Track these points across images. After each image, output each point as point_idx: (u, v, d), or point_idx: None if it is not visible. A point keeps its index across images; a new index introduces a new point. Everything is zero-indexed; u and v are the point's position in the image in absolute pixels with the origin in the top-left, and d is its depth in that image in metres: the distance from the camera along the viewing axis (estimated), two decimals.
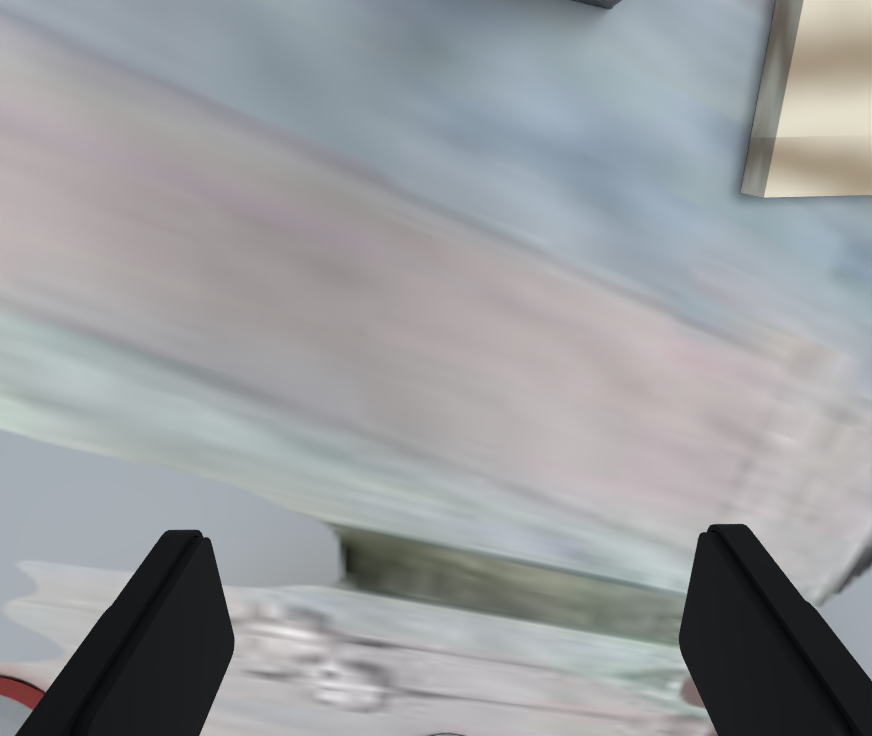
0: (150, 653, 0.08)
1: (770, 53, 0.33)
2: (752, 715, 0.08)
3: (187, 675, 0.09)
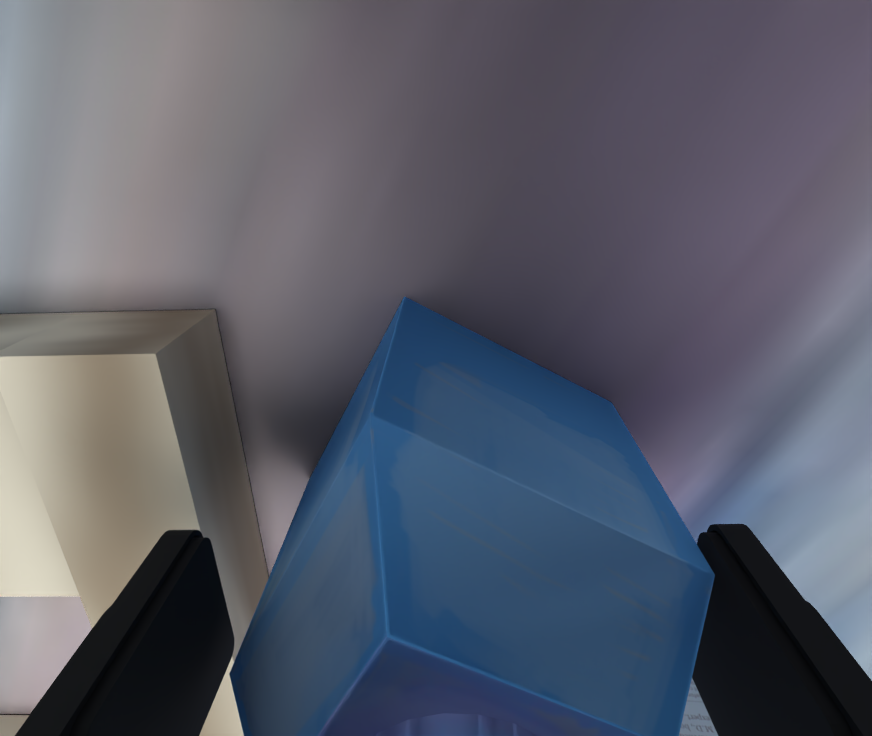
0: (150, 653, 0.08)
1: None
2: (752, 715, 0.08)
3: (187, 675, 0.09)
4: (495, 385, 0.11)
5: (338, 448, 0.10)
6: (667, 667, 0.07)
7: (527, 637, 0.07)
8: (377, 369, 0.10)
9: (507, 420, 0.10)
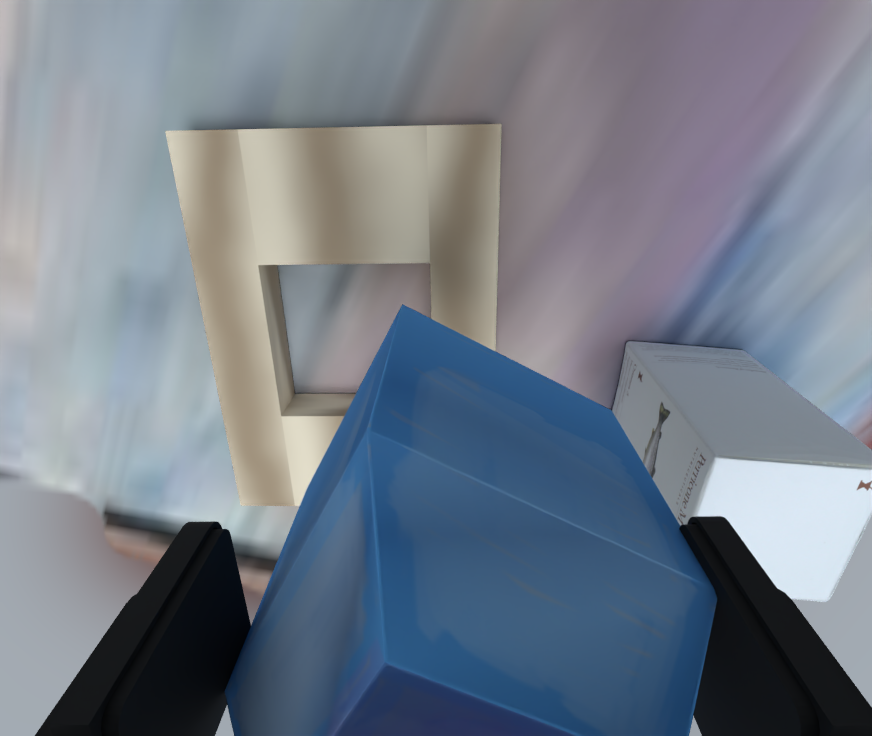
0: (175, 640, 0.08)
1: None
2: (727, 701, 0.08)
3: (209, 663, 0.09)
4: (495, 395, 0.11)
5: (335, 460, 0.10)
6: (671, 688, 0.07)
7: (528, 660, 0.07)
8: (375, 380, 0.10)
9: (507, 432, 0.10)
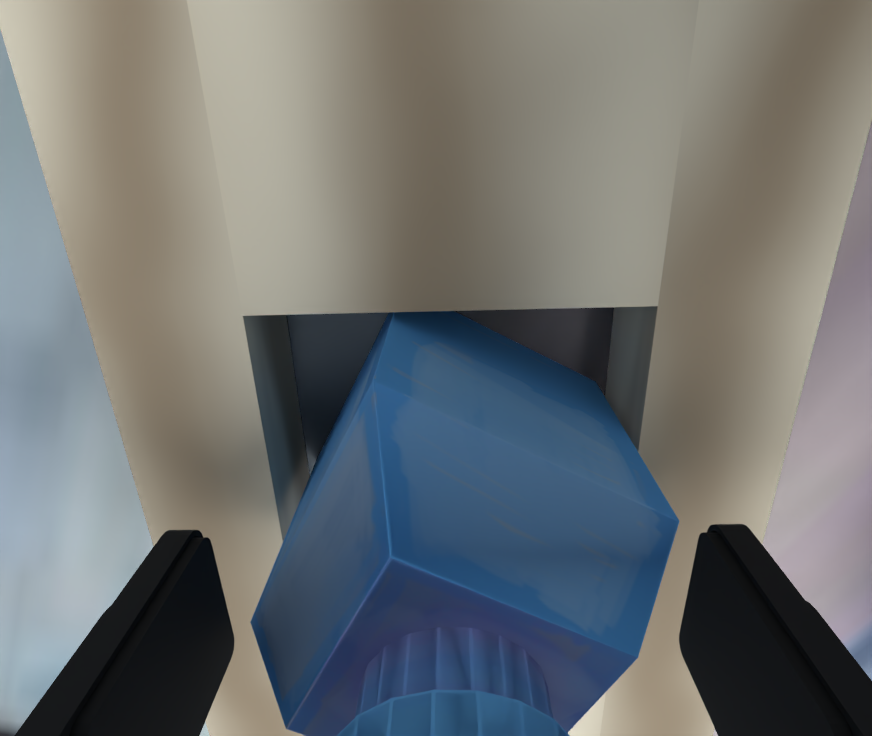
0: (150, 653, 0.08)
1: None
2: (752, 715, 0.08)
3: (187, 675, 0.09)
4: (486, 362, 0.12)
5: (344, 419, 0.12)
6: (633, 593, 0.09)
7: (510, 564, 0.08)
8: (378, 348, 0.12)
9: (496, 391, 0.11)
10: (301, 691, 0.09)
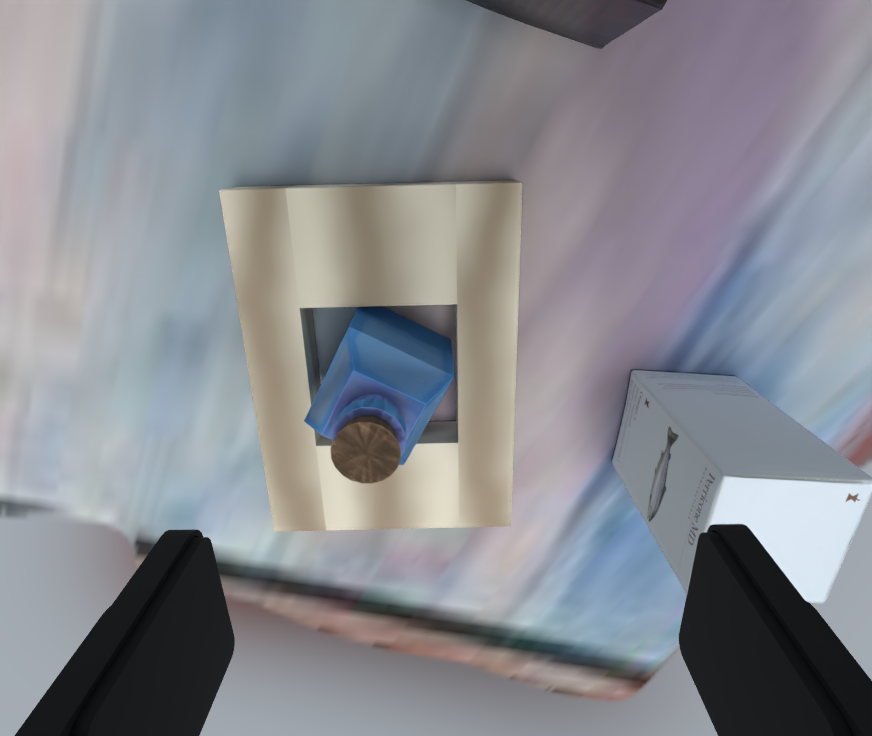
0: (150, 653, 0.08)
1: (379, 183, 0.31)
2: (752, 715, 0.08)
3: (187, 675, 0.09)
4: (394, 326, 0.32)
5: None
6: (429, 390, 0.28)
7: (389, 377, 0.27)
8: None
9: (395, 335, 0.30)
10: (326, 421, 0.28)
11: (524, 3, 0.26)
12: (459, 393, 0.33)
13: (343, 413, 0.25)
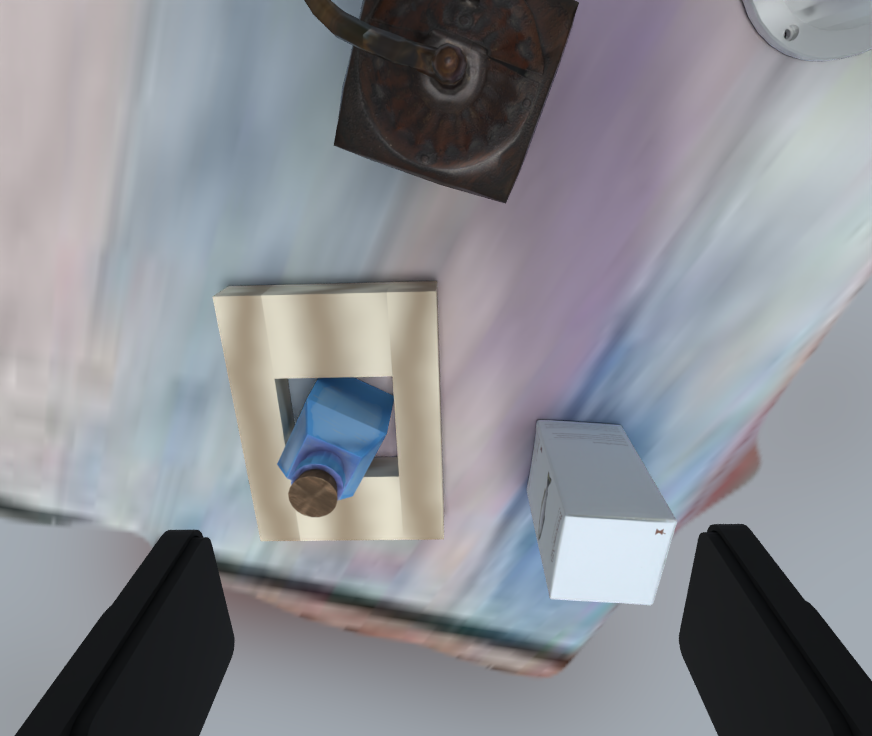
0: (150, 653, 0.08)
1: (333, 285, 0.41)
2: (752, 715, 0.08)
3: (187, 675, 0.09)
4: (346, 391, 0.42)
5: None
6: (365, 446, 0.38)
7: (334, 438, 0.37)
8: None
9: (344, 400, 0.40)
10: (290, 468, 0.38)
11: None
12: (397, 440, 0.43)
13: (298, 467, 0.35)
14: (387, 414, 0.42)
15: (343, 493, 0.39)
